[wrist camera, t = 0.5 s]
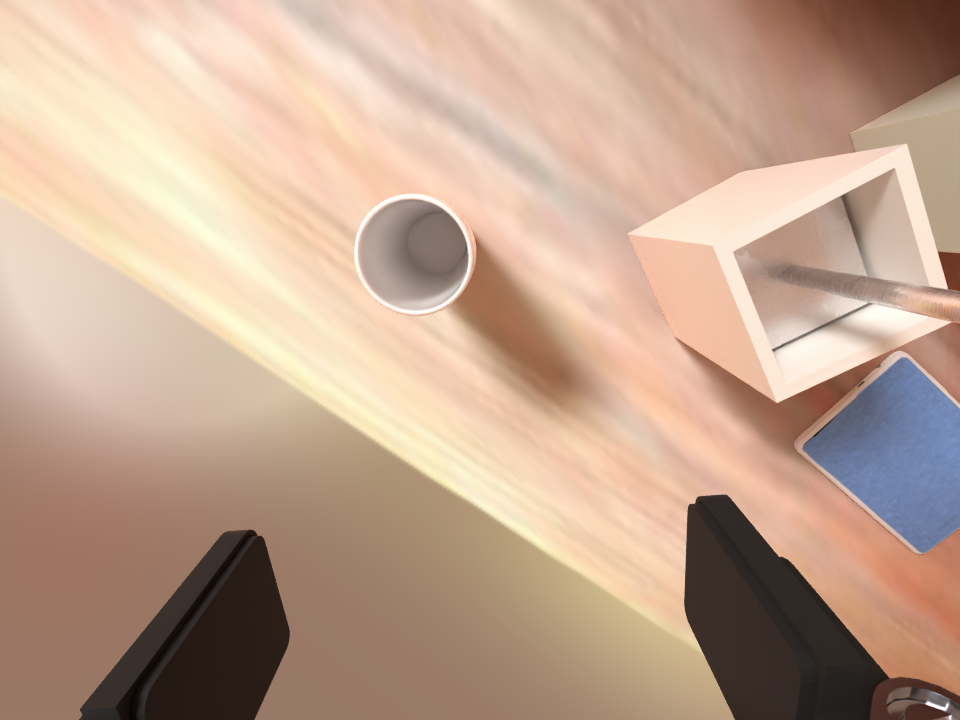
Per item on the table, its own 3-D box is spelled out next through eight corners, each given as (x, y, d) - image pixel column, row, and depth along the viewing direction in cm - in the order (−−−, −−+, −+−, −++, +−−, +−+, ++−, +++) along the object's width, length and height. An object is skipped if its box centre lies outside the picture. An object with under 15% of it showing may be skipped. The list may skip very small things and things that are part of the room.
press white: (626, 234, 40) (712, 245, 25) (741, 171, 39) (907, 143, 23) (673, 335, 43) (776, 403, 27) (782, 280, 41) (956, 319, 26)
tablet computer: (785, 442, 46) (794, 448, 45) (894, 344, 43) (907, 348, 42) (910, 551, 50) (922, 560, 48) (1020, 467, 47) (1034, 474, 45)
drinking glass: (487, 273, 41) (487, 304, 27) (411, 290, 42) (371, 329, 28) (469, 192, 40) (459, 178, 25) (390, 210, 40) (336, 207, 26)
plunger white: (706, 249, 29) (1162, 319, 10) (830, 184, 28) (1639, 111, 8) (750, 354, 31) (1206, 596, 11) (867, 297, 30) (1601, 458, 10)
